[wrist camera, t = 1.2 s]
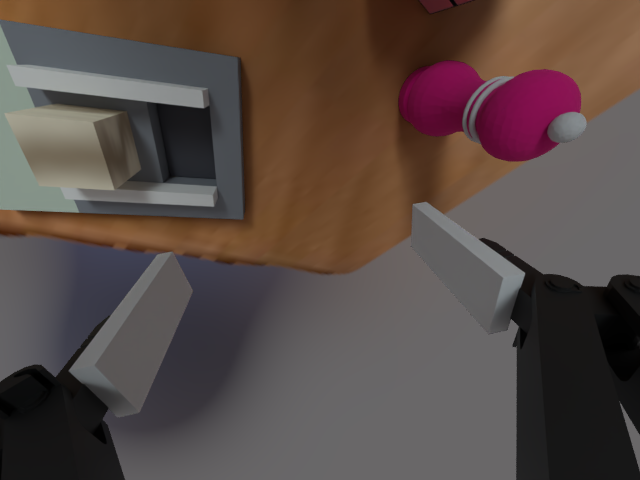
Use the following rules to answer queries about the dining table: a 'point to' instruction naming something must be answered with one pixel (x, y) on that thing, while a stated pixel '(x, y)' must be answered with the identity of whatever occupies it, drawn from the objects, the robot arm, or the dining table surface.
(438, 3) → the puzzle cube
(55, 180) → the maple block
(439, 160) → the dining table surface
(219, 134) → the pit deck
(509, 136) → the pepper mill
